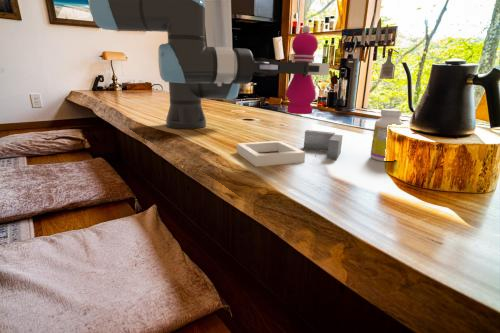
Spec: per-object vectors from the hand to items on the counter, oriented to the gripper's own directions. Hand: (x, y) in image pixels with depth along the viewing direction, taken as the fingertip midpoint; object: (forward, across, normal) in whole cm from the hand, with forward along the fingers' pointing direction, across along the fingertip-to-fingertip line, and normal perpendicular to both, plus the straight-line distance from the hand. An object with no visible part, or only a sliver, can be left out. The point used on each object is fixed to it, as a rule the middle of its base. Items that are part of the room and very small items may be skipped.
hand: (321, 69), depth 75 cm
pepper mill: (-5, 0, -11) cm, 12 cm away
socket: (-13, -1, -22) cm, 25 cm away
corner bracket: (+5, -1, -22) cm, 22 cm away
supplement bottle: (+16, +9, -22) cm, 29 cm away
